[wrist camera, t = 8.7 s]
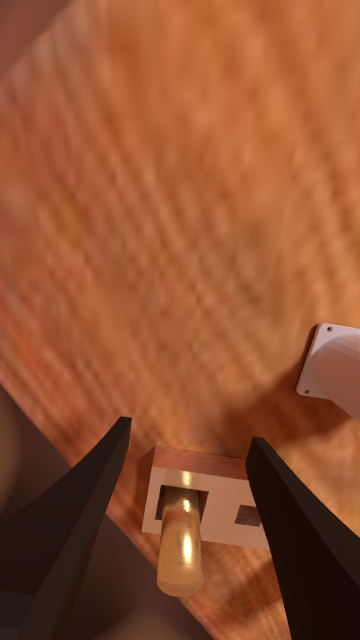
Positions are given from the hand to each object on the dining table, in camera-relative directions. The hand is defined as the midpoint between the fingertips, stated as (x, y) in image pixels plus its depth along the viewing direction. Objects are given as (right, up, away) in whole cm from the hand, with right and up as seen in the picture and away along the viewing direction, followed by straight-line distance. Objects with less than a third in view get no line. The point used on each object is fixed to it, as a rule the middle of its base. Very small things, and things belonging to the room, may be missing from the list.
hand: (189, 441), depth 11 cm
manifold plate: (+4, -14, +13) cm, 20 cm away
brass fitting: (0, -13, +13) cm, 19 cm away
